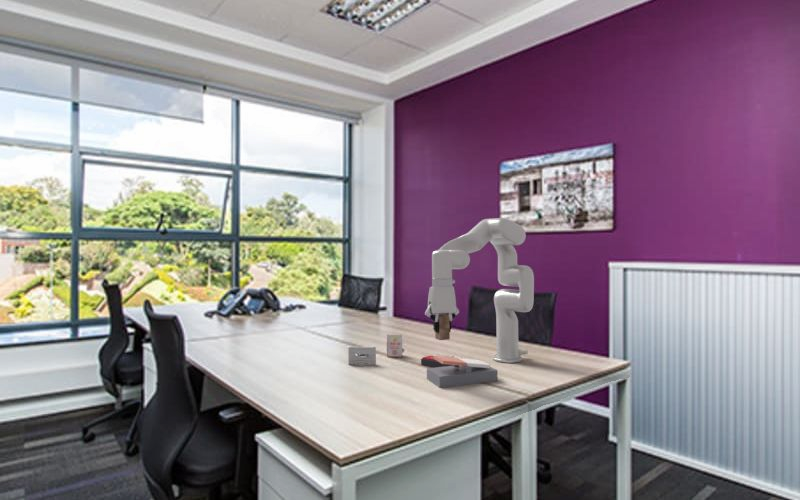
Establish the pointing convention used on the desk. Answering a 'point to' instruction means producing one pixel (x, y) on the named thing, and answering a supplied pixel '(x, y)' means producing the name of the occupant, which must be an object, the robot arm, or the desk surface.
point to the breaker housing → (460, 375)
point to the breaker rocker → (461, 362)
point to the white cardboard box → (394, 345)
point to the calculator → (434, 361)
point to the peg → (443, 327)
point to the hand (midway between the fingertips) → (442, 331)
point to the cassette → (362, 359)
